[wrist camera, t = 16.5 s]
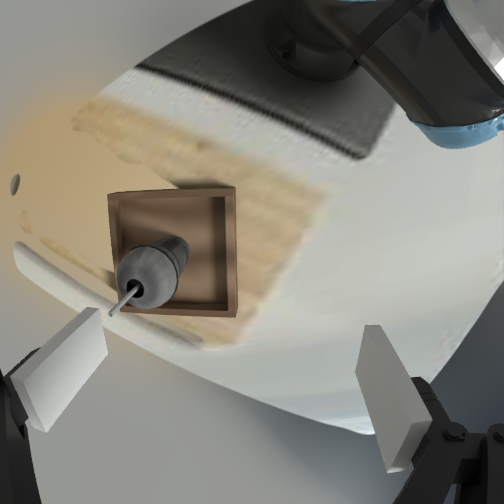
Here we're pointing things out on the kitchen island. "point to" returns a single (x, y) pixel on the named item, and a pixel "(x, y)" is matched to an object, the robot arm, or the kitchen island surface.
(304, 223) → the kitchen island surface
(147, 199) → the serving tray
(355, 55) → the robot arm
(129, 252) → the beverage cup
